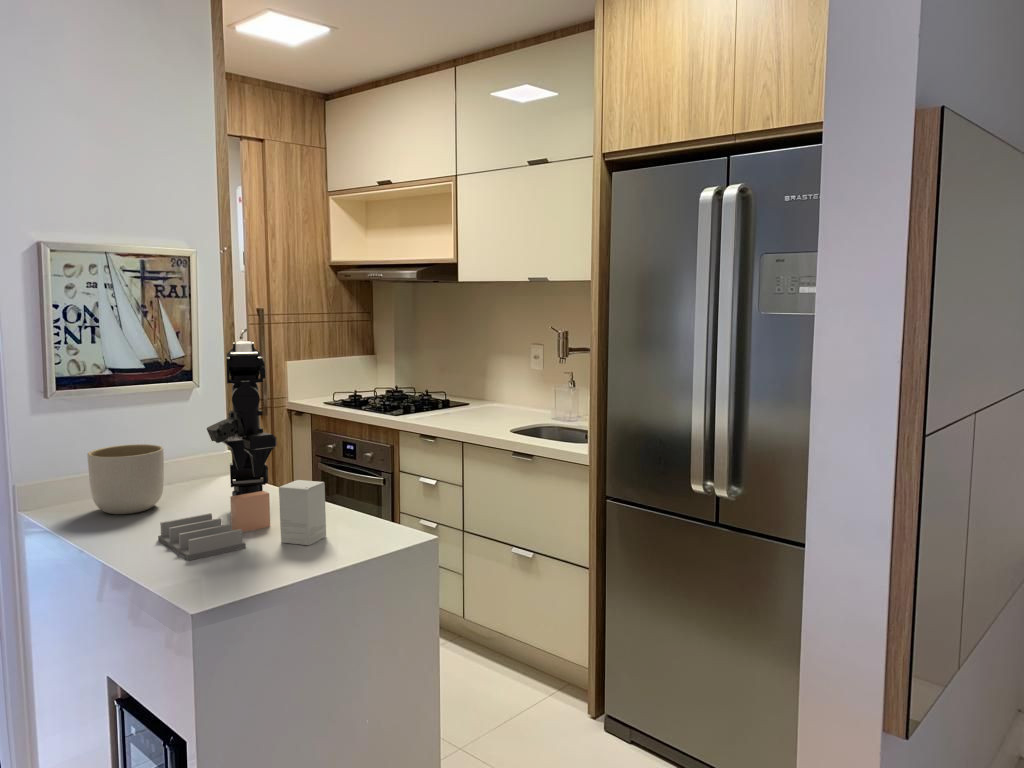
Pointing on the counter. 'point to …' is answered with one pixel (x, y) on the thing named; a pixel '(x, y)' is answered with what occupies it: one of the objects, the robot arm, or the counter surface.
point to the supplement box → (302, 512)
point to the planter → (126, 477)
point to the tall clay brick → (250, 511)
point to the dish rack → (200, 536)
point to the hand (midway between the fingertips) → (248, 473)
